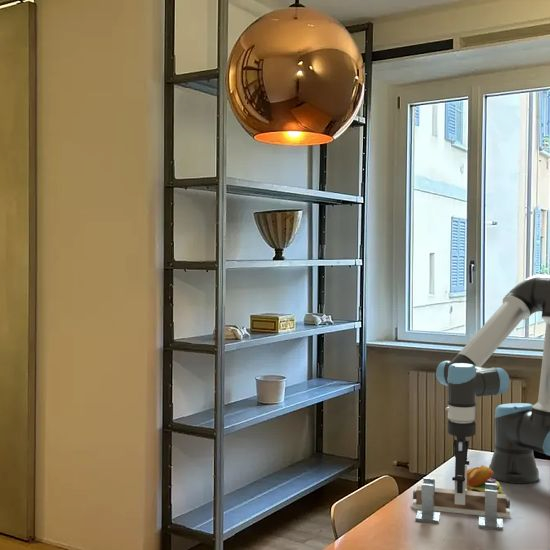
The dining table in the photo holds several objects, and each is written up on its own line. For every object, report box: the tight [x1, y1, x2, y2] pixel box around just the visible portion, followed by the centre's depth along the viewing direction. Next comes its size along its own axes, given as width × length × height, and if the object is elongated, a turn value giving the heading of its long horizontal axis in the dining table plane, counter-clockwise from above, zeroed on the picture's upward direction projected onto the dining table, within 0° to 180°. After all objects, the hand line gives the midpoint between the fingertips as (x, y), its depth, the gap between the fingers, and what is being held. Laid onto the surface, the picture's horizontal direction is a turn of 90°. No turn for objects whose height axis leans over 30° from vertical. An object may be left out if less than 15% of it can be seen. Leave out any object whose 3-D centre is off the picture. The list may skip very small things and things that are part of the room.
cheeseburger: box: [466, 465, 504, 494], centre depth 211 cm, size 10×11×10 cm
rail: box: [412, 485, 511, 513], centre depth 202 cm, size 26×4×4 cm, turn 73°
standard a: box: [415, 476, 441, 524], centre depth 194 cm, size 6×6×10 cm
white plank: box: [411, 499, 511, 519], centre depth 201 cm, size 26×7×1 cm, turn 73°
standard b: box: [478, 483, 504, 531], centre depth 189 cm, size 6×6×10 cm
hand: (460, 496), depth 201 cm, fingers open, 13 cm apart
